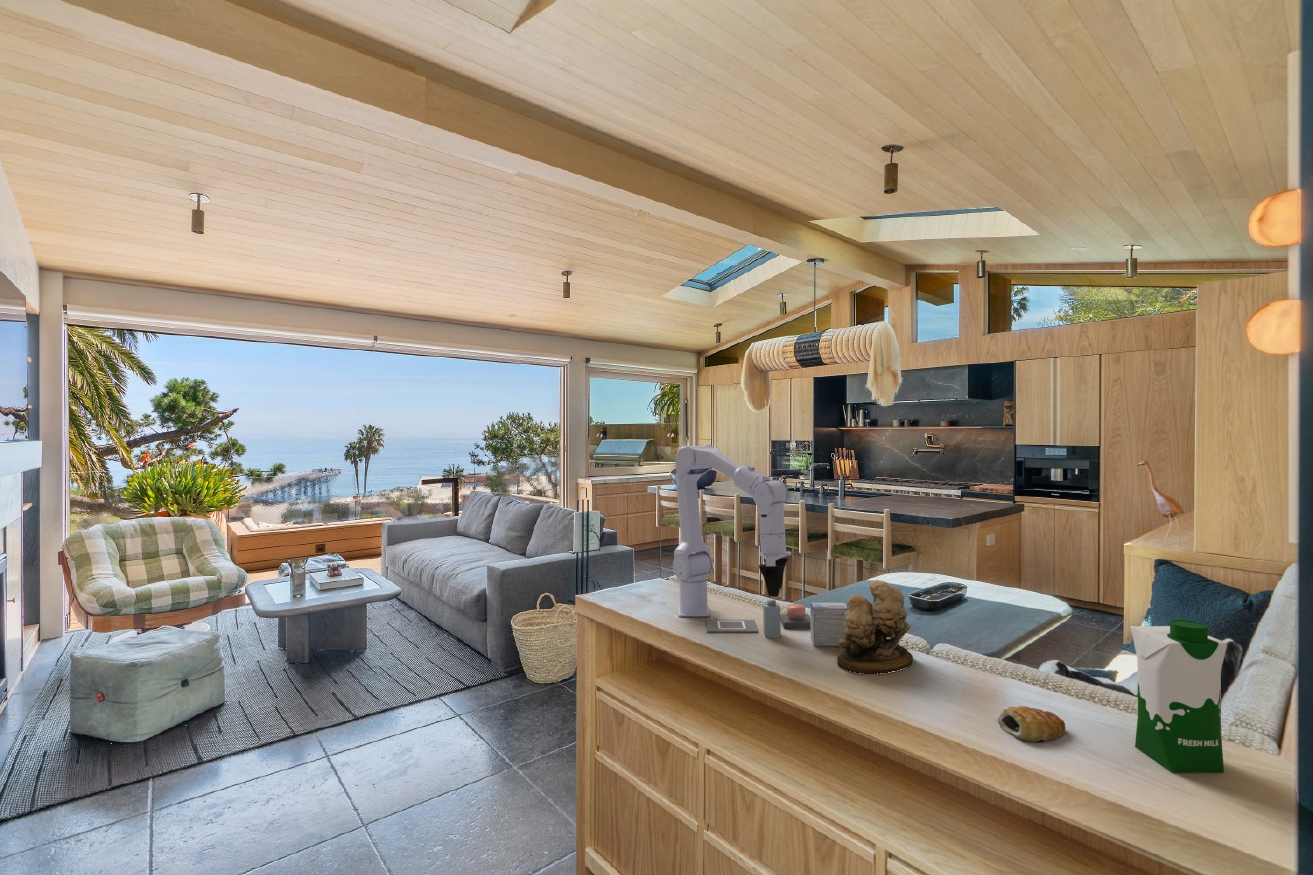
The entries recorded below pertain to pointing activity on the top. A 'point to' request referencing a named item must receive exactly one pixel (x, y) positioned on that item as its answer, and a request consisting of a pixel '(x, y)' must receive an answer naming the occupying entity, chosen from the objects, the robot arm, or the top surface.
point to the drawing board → (731, 626)
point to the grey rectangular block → (771, 619)
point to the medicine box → (827, 623)
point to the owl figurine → (875, 632)
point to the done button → (796, 610)
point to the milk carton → (1179, 696)
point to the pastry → (1031, 723)
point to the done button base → (795, 621)
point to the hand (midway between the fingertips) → (775, 592)
